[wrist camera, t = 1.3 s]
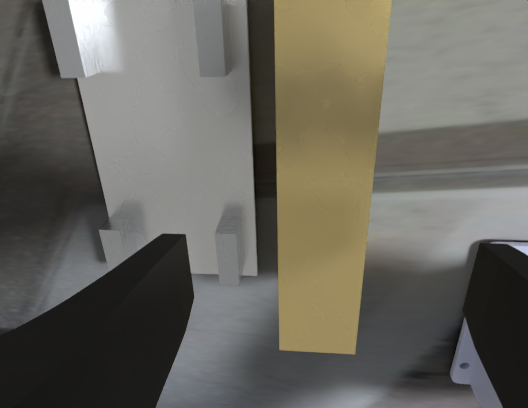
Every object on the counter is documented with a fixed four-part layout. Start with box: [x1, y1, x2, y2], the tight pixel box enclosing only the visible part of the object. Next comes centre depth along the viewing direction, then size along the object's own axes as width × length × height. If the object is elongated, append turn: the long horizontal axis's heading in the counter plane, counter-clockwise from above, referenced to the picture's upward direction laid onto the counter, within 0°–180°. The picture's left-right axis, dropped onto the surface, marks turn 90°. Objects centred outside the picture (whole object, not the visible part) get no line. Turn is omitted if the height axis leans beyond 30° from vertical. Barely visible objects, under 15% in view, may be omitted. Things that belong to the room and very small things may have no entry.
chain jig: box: [42, 0, 258, 286], centre depth 18 cm, size 14×8×2 cm, turn 2°
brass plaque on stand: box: [274, 0, 392, 354], centre depth 16 cm, size 13×3×6 cm, turn 2°
